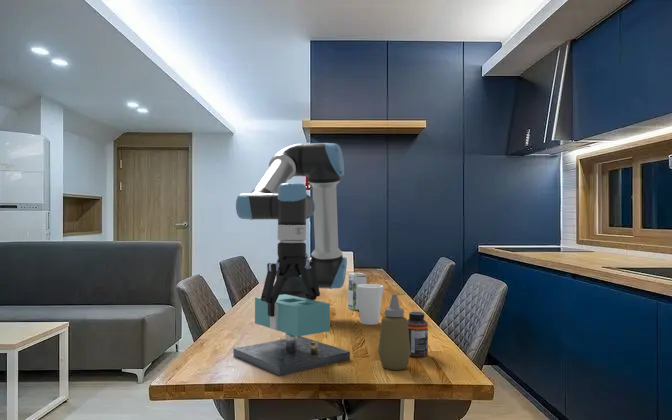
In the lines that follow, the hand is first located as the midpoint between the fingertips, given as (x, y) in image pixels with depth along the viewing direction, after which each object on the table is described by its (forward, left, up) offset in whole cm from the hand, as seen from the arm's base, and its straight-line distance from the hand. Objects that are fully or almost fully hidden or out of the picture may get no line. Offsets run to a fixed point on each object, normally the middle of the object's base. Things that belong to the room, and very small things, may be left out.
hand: (291, 326), depth 132 cm
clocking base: (0, 0, -8) cm, 8 cm away
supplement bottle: (+19, +28, -9) cm, 35 cm away
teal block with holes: (0, 0, 0) cm, 0 cm away
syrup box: (-42, +62, -9) cm, 76 cm away
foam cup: (-19, +47, -9) cm, 52 cm away
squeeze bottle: (+23, +15, -9) cm, 29 cm away
